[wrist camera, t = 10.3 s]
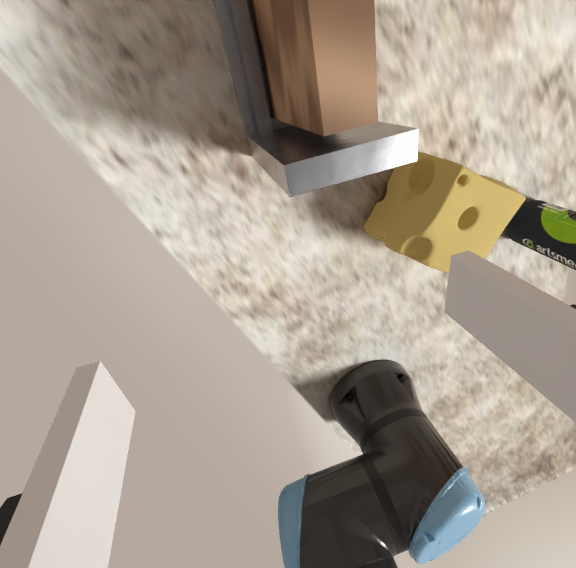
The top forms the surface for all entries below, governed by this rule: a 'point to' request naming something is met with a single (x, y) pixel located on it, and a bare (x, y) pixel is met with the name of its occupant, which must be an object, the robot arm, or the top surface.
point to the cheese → (441, 211)
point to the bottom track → (246, 65)
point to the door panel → (319, 62)
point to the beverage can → (546, 230)
